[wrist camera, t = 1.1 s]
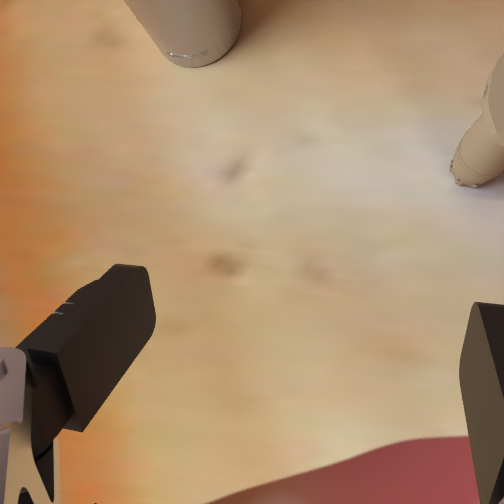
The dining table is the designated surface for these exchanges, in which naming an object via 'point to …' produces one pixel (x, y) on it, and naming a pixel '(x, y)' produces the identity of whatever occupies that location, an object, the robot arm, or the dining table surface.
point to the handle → (483, 137)
